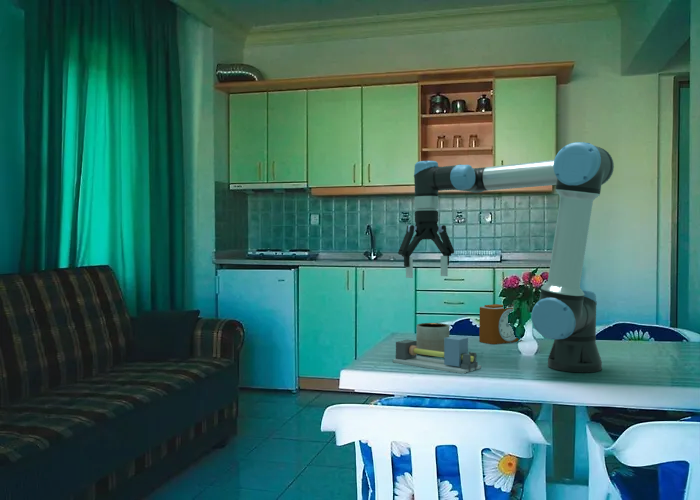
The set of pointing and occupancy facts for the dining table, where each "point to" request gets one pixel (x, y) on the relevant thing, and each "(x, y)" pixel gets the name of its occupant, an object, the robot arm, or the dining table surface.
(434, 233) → the robot arm
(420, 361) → the sliding block rail
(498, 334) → the alarm clock
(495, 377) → the dining table surface
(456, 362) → the sleeve
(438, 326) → the planter
